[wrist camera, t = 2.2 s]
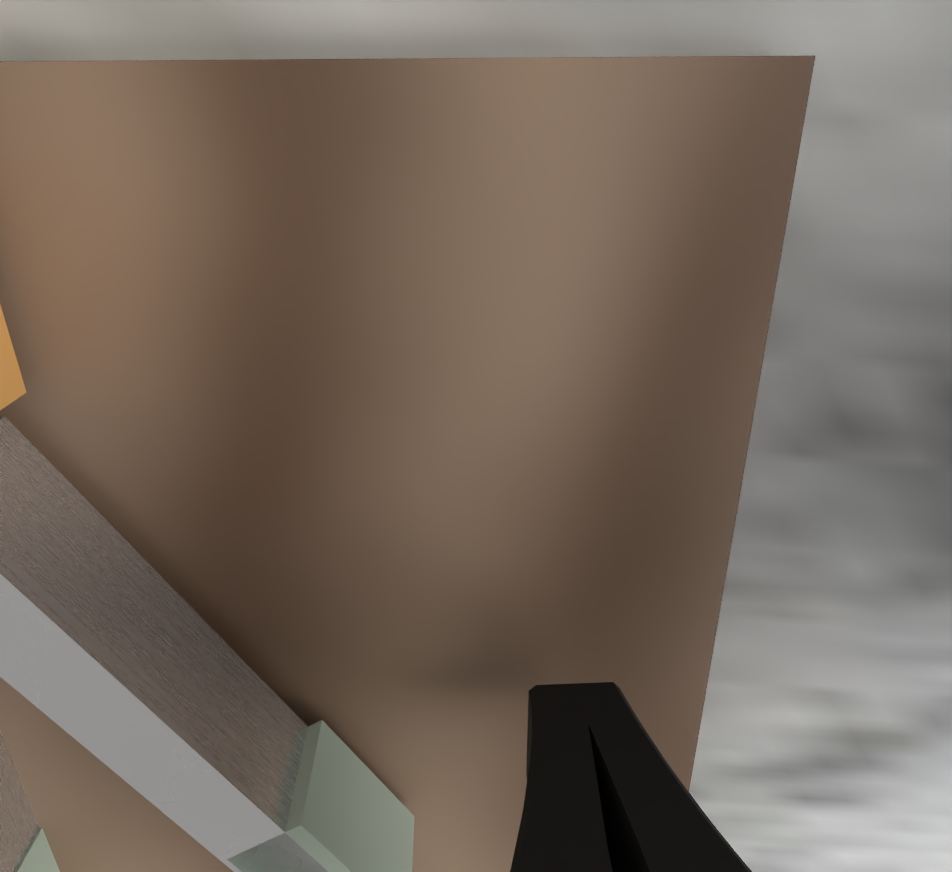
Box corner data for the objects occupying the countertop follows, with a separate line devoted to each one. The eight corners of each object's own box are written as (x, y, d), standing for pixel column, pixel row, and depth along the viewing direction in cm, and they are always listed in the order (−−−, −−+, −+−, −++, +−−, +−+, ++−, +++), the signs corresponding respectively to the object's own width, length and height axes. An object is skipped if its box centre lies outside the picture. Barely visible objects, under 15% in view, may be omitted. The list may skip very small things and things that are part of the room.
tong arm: (21, 406, 10) (-77, 473, 8) (414, 816, 13) (409, 926, 12) (-59, 456, 10) (-170, 534, 8) (349, 844, 14) (335, 956, 12)
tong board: (779, 61, 9) (943, 37, 6) (658, 849, 16) (708, 1023, 13) (-385, 69, 9) (-824, 48, 6) (-6, 880, 16) (-116, 1069, 13)
